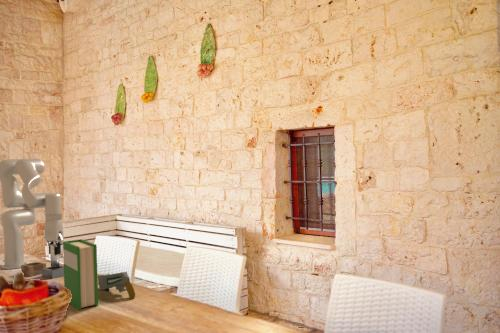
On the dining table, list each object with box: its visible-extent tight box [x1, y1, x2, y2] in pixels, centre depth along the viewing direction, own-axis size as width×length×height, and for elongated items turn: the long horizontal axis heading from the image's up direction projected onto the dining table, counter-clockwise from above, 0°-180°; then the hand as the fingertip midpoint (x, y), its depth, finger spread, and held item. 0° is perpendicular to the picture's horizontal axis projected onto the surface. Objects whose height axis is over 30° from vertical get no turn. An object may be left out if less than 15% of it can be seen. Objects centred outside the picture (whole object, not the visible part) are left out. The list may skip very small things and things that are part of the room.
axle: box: [49, 243, 61, 267], centre depth 215 cm, size 4×4×11 cm
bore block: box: [20, 261, 47, 278], centre depth 220 cm, size 8×8×5 cm
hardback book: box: [62, 239, 99, 311], centre depth 170 cm, size 18×7×24 cm, turn 40°
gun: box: [97, 271, 136, 299], centre depth 183 cm, size 3×25×15 cm, turn 50°
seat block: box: [41, 264, 64, 280], centre depth 215 cm, size 9×9×4 cm
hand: (54, 253), depth 215 cm, fingers closed on axle, 4 cm apart
